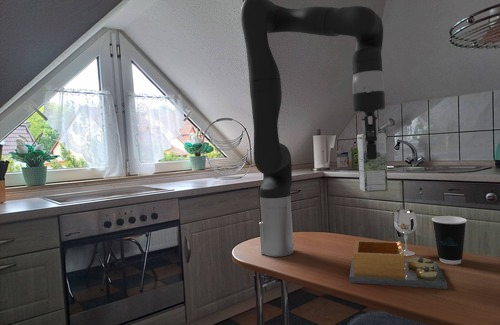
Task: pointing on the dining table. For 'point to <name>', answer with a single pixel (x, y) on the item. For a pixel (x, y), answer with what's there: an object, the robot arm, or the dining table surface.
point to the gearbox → (392, 266)
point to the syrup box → (372, 165)
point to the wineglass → (405, 225)
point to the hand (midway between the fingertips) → (371, 158)
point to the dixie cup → (449, 238)
